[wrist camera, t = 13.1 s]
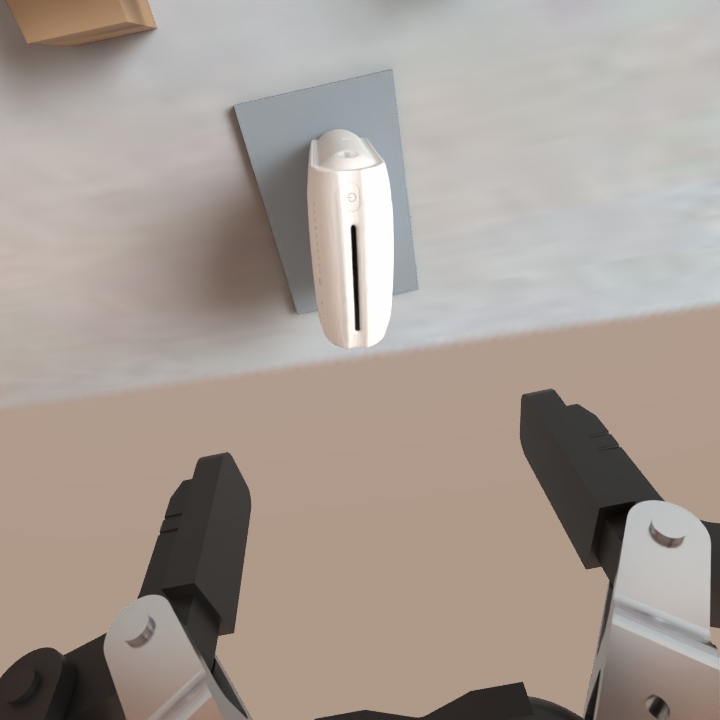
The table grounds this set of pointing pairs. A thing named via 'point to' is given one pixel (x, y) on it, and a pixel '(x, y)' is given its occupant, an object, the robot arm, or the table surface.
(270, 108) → the slate mat
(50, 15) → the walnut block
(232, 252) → the table surface
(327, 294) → the photo printer
